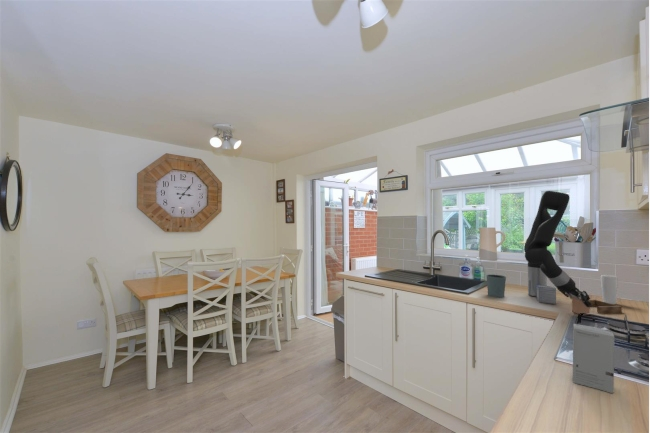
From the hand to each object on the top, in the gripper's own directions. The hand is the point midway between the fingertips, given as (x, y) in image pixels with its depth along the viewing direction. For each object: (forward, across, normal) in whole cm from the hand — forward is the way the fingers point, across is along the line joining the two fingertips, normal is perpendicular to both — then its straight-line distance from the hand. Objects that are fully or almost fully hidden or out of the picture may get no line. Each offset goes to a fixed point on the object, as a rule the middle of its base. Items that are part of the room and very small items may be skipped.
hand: (584, 304), depth 141 cm
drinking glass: (+26, +16, -19) cm, 36 cm away
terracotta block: (+2, 0, +4) cm, 5 cm away
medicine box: (+3, +21, +4) cm, 21 cm away
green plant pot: (-10, +37, +17) cm, 42 cm away
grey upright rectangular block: (-38, -58, +44) cm, 82 cm away
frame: (+12, +6, -6) cm, 15 cm away
